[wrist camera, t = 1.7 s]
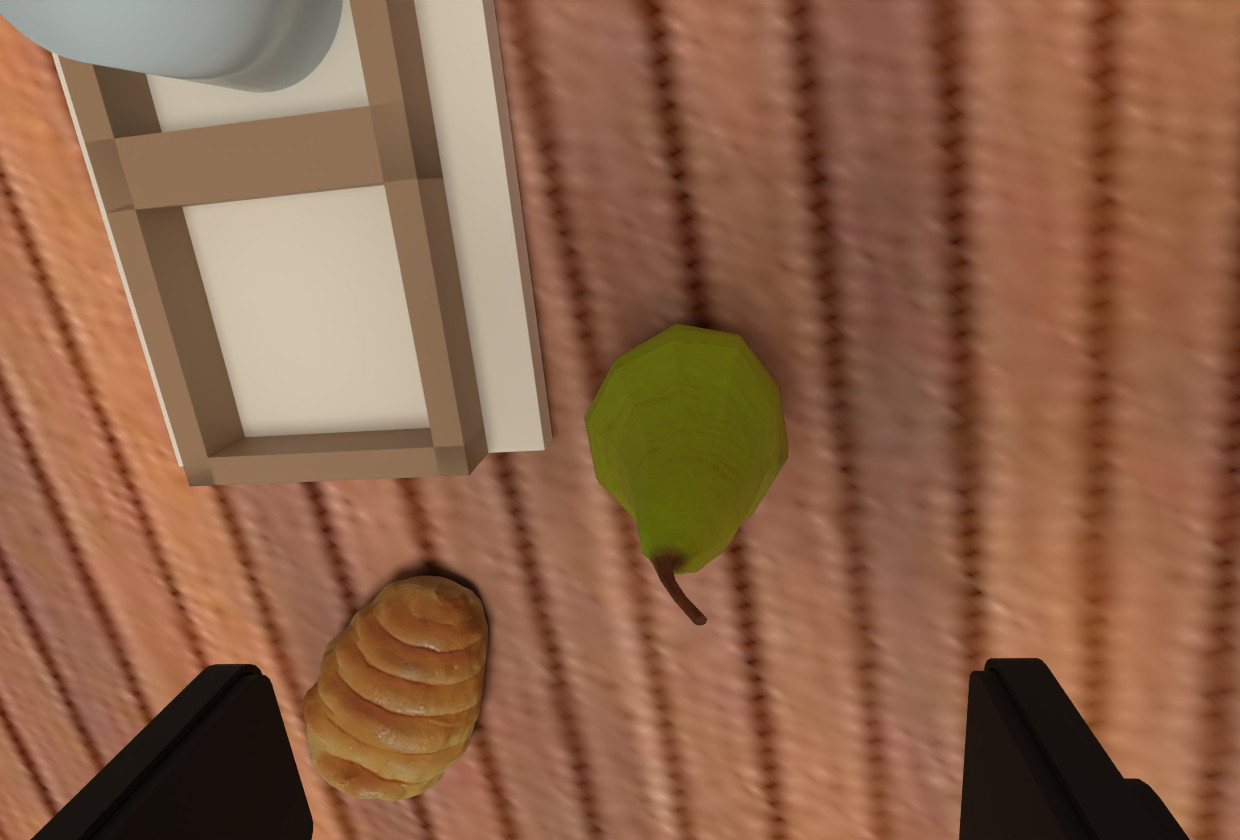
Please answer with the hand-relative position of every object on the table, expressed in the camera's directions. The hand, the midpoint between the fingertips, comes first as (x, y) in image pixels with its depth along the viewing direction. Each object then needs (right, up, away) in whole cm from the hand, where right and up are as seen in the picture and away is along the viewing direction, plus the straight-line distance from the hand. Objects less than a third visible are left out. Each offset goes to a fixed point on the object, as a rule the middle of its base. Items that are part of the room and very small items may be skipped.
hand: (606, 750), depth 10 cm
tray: (-10, +13, +14) cm, 22 cm away
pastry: (-9, -6, +21) cm, 23 cm away
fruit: (+3, +5, +15) cm, 16 cm away
